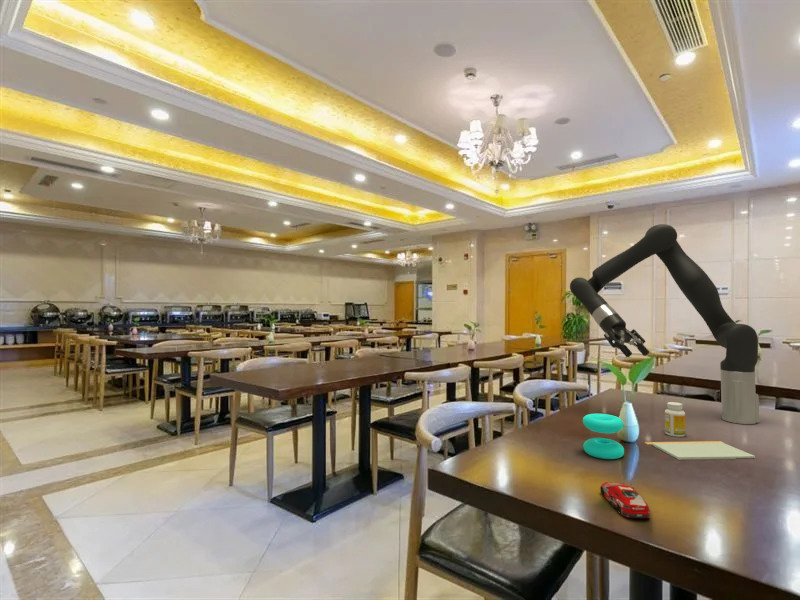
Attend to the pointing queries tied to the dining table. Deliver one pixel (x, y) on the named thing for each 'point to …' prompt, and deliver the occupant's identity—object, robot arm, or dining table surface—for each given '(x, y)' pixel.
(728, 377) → the robot arm
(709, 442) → the strip
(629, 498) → the race car
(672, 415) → the supplement bottle
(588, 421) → the donuts
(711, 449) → the mat
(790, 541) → the dining table surface
